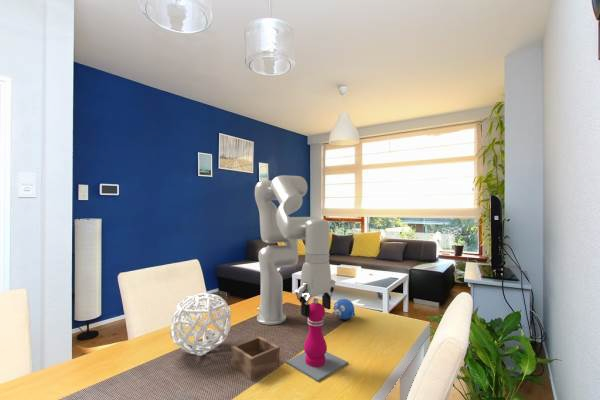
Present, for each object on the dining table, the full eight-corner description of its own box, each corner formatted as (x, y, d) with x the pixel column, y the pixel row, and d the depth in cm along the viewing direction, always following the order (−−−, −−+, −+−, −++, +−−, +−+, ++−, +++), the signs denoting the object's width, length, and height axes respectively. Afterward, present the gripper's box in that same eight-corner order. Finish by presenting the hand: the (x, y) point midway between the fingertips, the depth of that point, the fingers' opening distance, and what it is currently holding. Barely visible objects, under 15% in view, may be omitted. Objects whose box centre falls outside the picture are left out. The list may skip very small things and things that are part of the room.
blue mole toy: (322, 319, 133) (322, 299, 133) (339, 312, 141) (339, 294, 141) (343, 327, 124) (343, 307, 124) (361, 320, 132) (361, 300, 132)
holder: (231, 365, 95) (231, 346, 95) (259, 354, 102) (259, 336, 102) (251, 380, 87) (251, 359, 87) (279, 366, 95) (279, 347, 95)
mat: (285, 362, 97) (285, 361, 97) (315, 348, 106) (315, 346, 106) (317, 382, 87) (317, 379, 87) (348, 363, 96) (348, 362, 96)
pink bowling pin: (325, 369, 92) (325, 302, 92) (301, 366, 93) (302, 301, 94) (328, 357, 99) (328, 295, 99) (306, 354, 101) (306, 294, 101)
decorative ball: (212, 371, 92) (213, 307, 92) (155, 363, 96) (156, 302, 96) (241, 341, 111) (241, 289, 111) (192, 335, 116) (192, 285, 116)
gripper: (326, 253, 105) (325, 302, 106) (288, 260, 93) (287, 315, 94) (343, 256, 100) (342, 308, 100) (306, 264, 88) (305, 323, 88)
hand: (316, 311), depth 97 cm, fingers open, 9 cm apart
